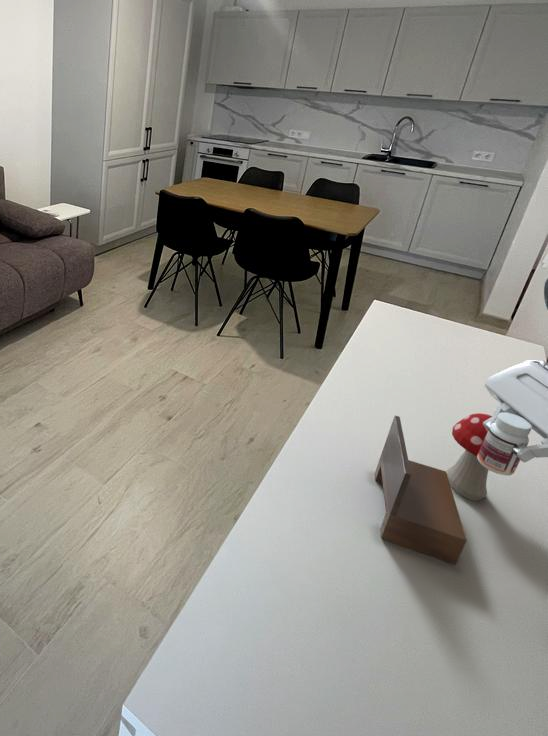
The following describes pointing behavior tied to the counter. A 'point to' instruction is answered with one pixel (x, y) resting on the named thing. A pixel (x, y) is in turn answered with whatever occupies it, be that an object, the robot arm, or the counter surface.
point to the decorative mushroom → (469, 458)
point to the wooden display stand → (417, 503)
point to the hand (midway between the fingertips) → (501, 442)
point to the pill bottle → (504, 443)
